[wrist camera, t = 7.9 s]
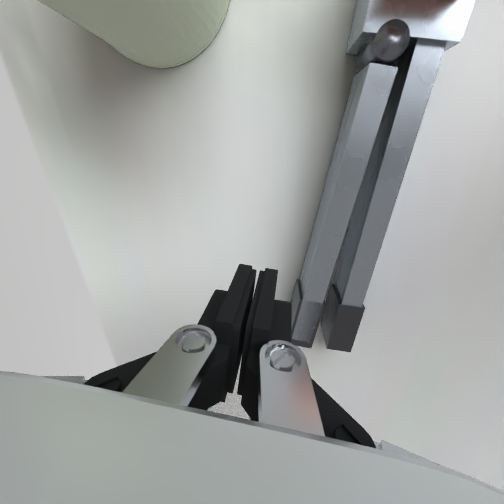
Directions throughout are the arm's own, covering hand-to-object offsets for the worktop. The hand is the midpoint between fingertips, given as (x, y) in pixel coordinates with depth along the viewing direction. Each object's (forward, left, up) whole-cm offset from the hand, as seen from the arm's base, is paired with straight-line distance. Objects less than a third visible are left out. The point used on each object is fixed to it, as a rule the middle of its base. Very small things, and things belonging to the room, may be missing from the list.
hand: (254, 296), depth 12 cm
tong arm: (-4, -1, -9) cm, 10 cm away
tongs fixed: (-6, -4, -10) cm, 12 cm away
